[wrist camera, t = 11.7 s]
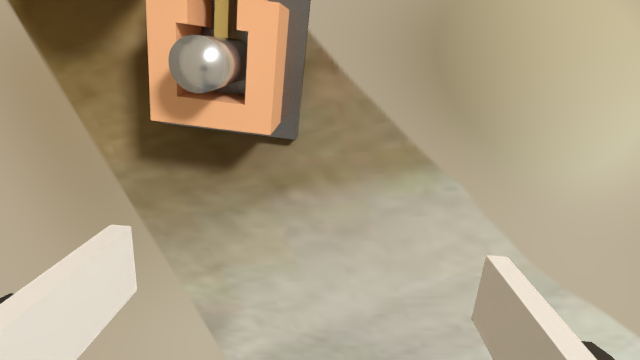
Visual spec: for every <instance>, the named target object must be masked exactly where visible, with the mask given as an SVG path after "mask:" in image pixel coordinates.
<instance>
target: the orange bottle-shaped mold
mask: <svg viewBox="0 0 640 360" xmlns="http://www.w3.org/2000/svg"><path fill="white" fill-rule="evenodd" d="M211 5H212V0H146V15H147V40H148V64H149V89H150V113H151V120H153V121H161V122H169V123H177V124H185V125H193V126H201V127H209V128H217V129H225V130H233V131H241V132H249V133H257V134H265V135H271V134H272V132H273V131H274V130H275V129H276V127H277V126H278V125H279V124H280V121H281V108H282V96H283V83H284V71H285V58H286V45H287V33H288V20H289V9H287V8H286V7H285V6H283V5H282V4H281V3H278V2H270V1H268V0H238V4H237V30H240V31H246V32H248V47H247V69H246V91H245V95H243V94H235V93H227V92H219V91H209V92H205V93H193V92H190V91H187V90H185V89H184V88H182V87H181V86H180V85H179V84H178V83H177V82H176V81H175V80H174V78H173V76H172V74H171V72H170V69H169V62H168V60H169V53H170V50H171V48H172V46H173V45H174V43H175V42H176V41H177V40H179V39H180V38H182V37H184V36H187V35H201V26H202V27H210V28H211Z"/></svg>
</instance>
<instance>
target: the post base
mask: <svg viewBox="0 0 640 360" xmlns="http://www.w3.org/2000/svg"><path fill="white" fill-rule="evenodd" d="M268 1H270V2H278V3H281V4H282V5H283V6H285V7H286V8H287V9H289V20H288V33H287V45H286V58H285V71H284V83H283V96H282V108H281V121H280V124H279V125H278V126H277V127H276V129H275V130H274V131H273V132H272V134H271V135H265V134H257V133H249V132H241V131H233V130H225V129H217V128H209V127H201V126H193V125H185V124H177V123H169V122H162V123H165V124H173V125H181V126H189V127H197V128H205V129H213V130H221V131H229V132H237V133H245V134H253V135H261V136H269V137H277V138H285V139H293V140H296V139H297V136H298V126H299V116H300V105H301V95H302V85H303V74H304V64H305V53H306V43H307V33H308V22H309V12H310V1H311V0H268ZM237 4H238V0H212V5H211V28H210V27H202V26H201V35H187V36H184V37H182V38H180V39H179V40H177V41H176V42H175V43H174V45H173V46H172V48H171V50H170V53H169V60H168V62H169V69H170V72H171V74H172V76H173V78H174V80H175V81H176V82H177V83H178V84H179V85H180V86H181V87H182V88H184V89H185V90H187V91H190V92H193V93H205V92H209V91H219V92H227V93H235V94H243V95H245V91H246V69H247V47H248V32H246V31H240V30H237Z"/></svg>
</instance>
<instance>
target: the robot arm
mask: <svg viewBox="0 0 640 360" xmlns="http://www.w3.org/2000/svg"><path fill="white" fill-rule="evenodd" d="M136 291H137V284H136V274H135V264H134V253H133V243H132V233H131V226H121V225H110V226H108V227H107V228H105V229H104V230H102V231H101V232H100V233H98V234H97V235H96V236H94V237H93V238H91V239H90V240H89V241H87V242H86V243H85V244H83V245H82V246H80V247H79V248H78V249H76V250H75V251H73V252H72V253H71V254H69V255H68V256H66V257H65V258H64V259H62V260H61V261H59V262H58V263H57V264H55V265H54V266H53V267H51V268H50V269H48V270H47V271H46V272H44V273H43V274H41V275H40V276H39V277H37V278H36V279H35V280H33V281H32V282H31V283H29V284H28V285H26V286H25V287H23V288H22V289H21V290H19V291H18V292H17V293H15V294H11V293H10V294H8V295H6V296H4V297H2V298H0V360H76V359H77V358H78V357H79V356H80V355H81V354H82V352H83V351H84V350H85V349H86V348H87V347H88V345H89V344H90V343H91V342H92V341H93V340H94V339H95V337H96V336H97V335H98V334H99V333H100V332H101V331H102V330H103V328H104V327H105V326H106V325H107V324H108V323H109V322H110V320H111V319H112V318H113V317H114V316H115V315H116V313H117V312H118V311H119V310H120V309H121V308H122V307H123V306H124V304H125V303H126V302H127V301H128V300H129V299H130V298H131V296H132V295H133V294H134V293H135V292H136ZM472 320H473V322H474V324H475V326H476V328H477V330H478V332H479V333H480V335H481V337H482V339H483V341H484V343H485V345H486V347H487V349H488V351H489V353H490V354H491V356H492V358H493V360H614V358H613V357H612V356H610V355H609V354H607V353H606V352H605V351H603V350H602V349H600V348H599V347H598V346H596V345H595V344H593V343H592V342H585V341H580V340H579V338H578V337H577V336H576V335H575V334H574V333H573V332H572V330H571V329H570V328H569V327H568V326H567V325H566V324H565V322H564V321H563V320H562V319H561V318H560V317H559V316H558V314H557V313H556V312H555V311H554V310H553V309H552V307H551V306H550V305H549V304H548V303H547V302H546V301H545V299H544V298H543V297H542V296H541V295H540V294H539V293H538V291H537V290H536V289H535V288H534V287H533V286H532V285H531V283H530V282H529V281H528V280H527V279H526V278H525V277H524V275H523V274H522V273H521V272H520V271H519V270H518V269H517V267H516V266H515V265H514V264H513V263H512V262H511V260H510V259H509V258H508V257H501V256H489V255H486V259H485V263H484V267H483V272H482V276H481V280H480V285H479V289H478V293H477V298H476V302H475V306H474V310H473V315H472Z"/></svg>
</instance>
